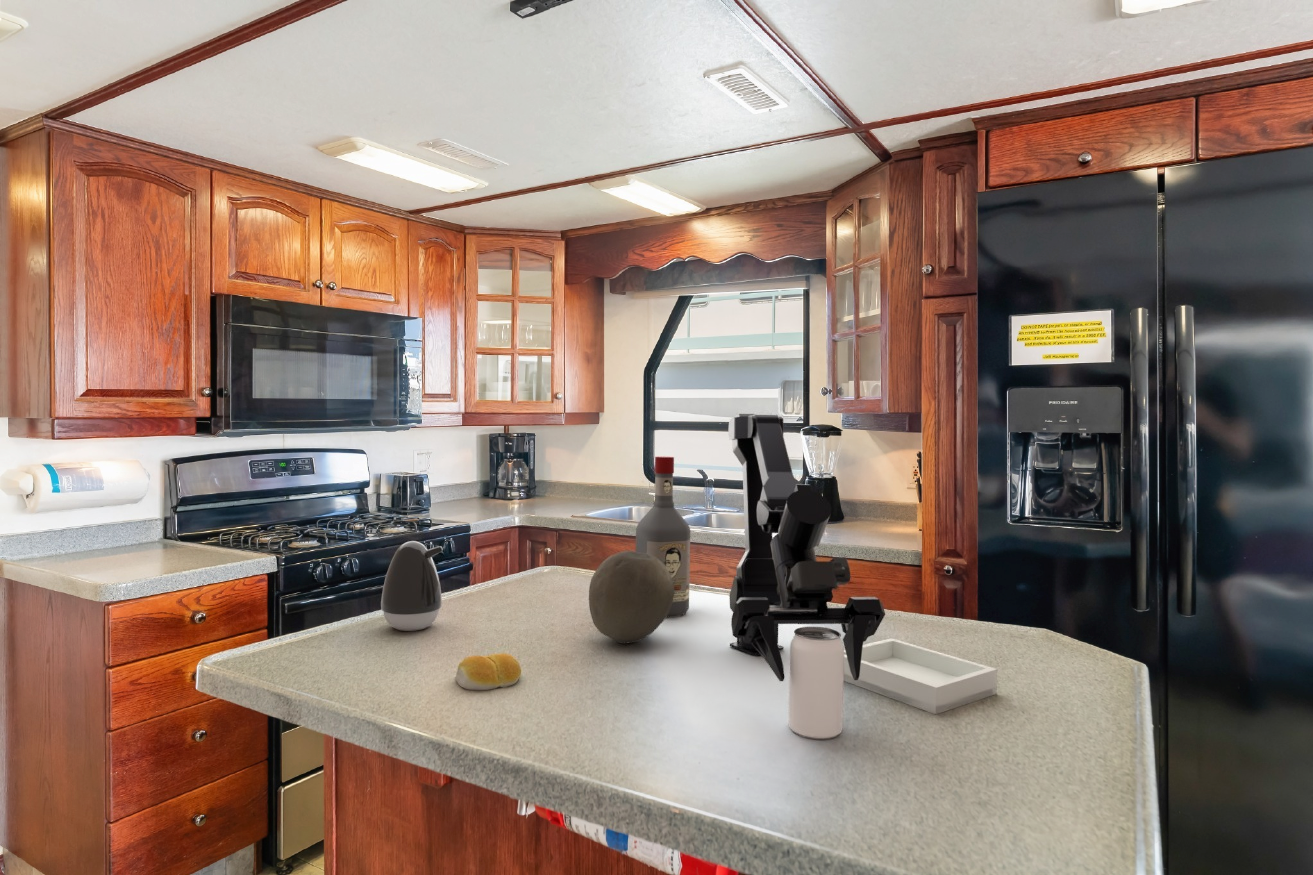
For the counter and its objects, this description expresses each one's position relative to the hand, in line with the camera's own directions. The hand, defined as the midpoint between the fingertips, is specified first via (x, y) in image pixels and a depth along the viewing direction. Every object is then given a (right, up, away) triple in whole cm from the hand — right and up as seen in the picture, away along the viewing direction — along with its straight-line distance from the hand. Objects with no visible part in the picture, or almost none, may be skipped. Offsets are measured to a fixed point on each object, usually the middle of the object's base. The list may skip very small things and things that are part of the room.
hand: (819, 679), depth 96 cm
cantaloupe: (-24, -5, +39) cm, 46 cm away
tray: (+17, -6, +19) cm, 26 cm away
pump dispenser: (-63, -4, +44) cm, 77 cm away
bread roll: (-44, -6, +17) cm, 47 cm away
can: (0, -7, +2) cm, 7 cm away
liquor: (-19, -5, +58) cm, 61 cm away
